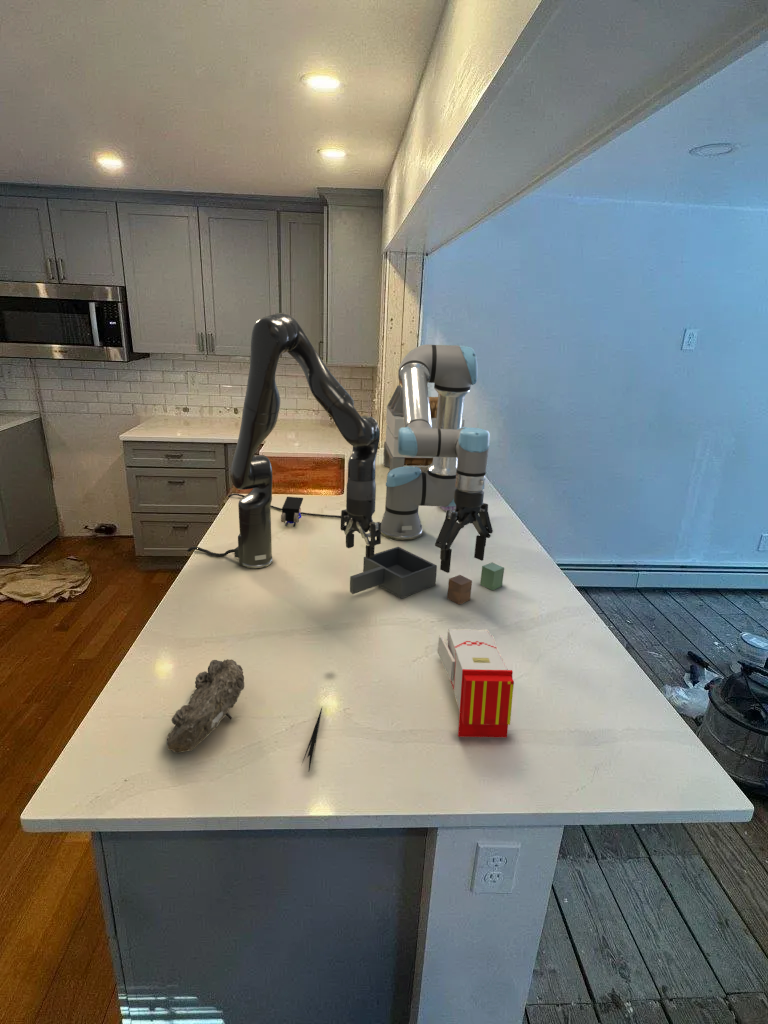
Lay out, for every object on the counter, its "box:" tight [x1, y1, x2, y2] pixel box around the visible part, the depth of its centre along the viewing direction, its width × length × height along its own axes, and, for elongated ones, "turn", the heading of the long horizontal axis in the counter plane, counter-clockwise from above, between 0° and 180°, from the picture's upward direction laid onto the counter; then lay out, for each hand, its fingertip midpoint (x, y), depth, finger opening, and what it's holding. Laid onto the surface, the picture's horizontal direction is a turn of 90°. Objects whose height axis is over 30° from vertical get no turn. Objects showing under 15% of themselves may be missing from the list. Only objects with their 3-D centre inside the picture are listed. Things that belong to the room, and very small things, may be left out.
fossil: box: [166, 658, 245, 754], centre depth 106 cm, size 22×10×15 cm
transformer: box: [383, 384, 465, 472], centre depth 268 cm, size 34×33×41 cm
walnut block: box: [446, 574, 473, 605], centre depth 155 cm, size 4×4×6 cm
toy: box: [437, 628, 515, 738], centre depth 117 cm, size 12×13×30 cm
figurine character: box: [280, 496, 304, 528], centre depth 205 cm, size 7×8×15 cm
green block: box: [479, 561, 505, 591], centre depth 164 cm, size 4×4×6 cm
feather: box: [301, 673, 332, 771], centre depth 108 cm, size 2×28×2 cm
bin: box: [349, 546, 438, 599], centre depth 161 cm, size 17×24×6 cm
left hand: (359, 552), depth 151 cm, fingers open, 8 cm apart
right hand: (462, 564), depth 153 cm, fingers open, 13 cm apart
